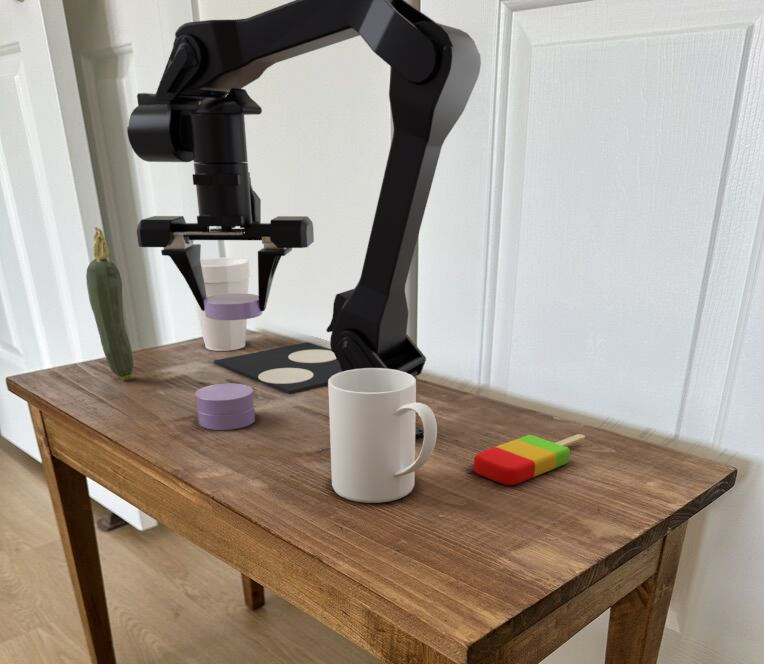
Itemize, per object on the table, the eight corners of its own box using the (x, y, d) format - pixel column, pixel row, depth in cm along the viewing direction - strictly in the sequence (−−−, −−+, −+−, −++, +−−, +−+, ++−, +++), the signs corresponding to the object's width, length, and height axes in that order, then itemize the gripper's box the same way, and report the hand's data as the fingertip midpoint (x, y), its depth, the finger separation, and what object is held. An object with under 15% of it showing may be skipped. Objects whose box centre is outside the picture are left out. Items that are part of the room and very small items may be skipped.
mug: (315, 484, 73) (311, 378, 69) (380, 464, 78) (379, 363, 73) (395, 529, 65) (396, 412, 60) (462, 504, 69) (468, 393, 64)
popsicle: (467, 471, 76) (468, 454, 75) (561, 436, 84) (562, 420, 84) (510, 489, 72) (511, 471, 71) (603, 450, 81) (605, 434, 80)
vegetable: (130, 386, 102) (105, 229, 94) (99, 386, 103) (71, 229, 94) (140, 377, 106) (117, 225, 98) (110, 377, 107) (84, 225, 98)
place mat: (388, 370, 109) (388, 366, 109) (287, 394, 99) (287, 390, 99) (307, 344, 123) (307, 341, 122) (212, 363, 113) (211, 360, 112)
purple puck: (264, 407, 89) (263, 392, 88) (214, 419, 85) (212, 404, 84) (235, 394, 93) (234, 380, 92) (186, 405, 89) (185, 390, 89)
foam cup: (236, 336, 128) (229, 255, 122) (266, 346, 122) (260, 262, 116) (185, 345, 123) (175, 261, 117) (213, 356, 116) (204, 268, 110)
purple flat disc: (266, 421, 89) (264, 407, 89) (216, 434, 86) (214, 419, 85) (237, 408, 94) (235, 394, 93) (188, 419, 90) (186, 405, 89)
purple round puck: (273, 314, 88) (272, 298, 87) (223, 322, 84) (222, 306, 83) (243, 306, 93) (241, 291, 92) (194, 313, 89) (192, 298, 88)
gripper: (317, 160, 88) (322, 298, 95) (160, 161, 89) (176, 296, 96) (302, 163, 78) (309, 316, 85) (125, 164, 79) (146, 315, 86)
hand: (233, 310), depth 88 cm, fingers closed on purple round puck, 6 cm apart
